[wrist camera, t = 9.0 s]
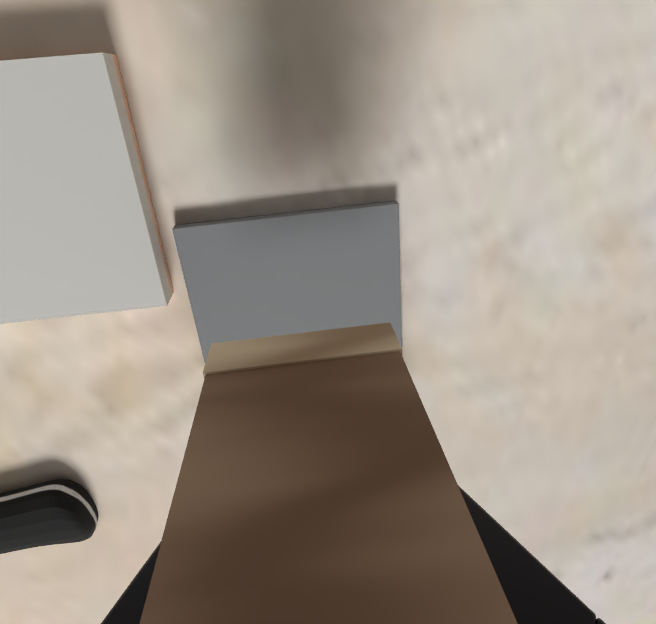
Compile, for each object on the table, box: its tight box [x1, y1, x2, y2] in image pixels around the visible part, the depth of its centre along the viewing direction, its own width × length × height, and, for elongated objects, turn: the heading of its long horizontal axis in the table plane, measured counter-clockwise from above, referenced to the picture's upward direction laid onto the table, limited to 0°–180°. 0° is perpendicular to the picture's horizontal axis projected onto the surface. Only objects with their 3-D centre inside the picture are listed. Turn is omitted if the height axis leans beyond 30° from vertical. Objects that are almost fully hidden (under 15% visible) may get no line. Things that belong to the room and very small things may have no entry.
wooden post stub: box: [140, 322, 518, 624], centre depth 8 cm, size 4×4×9 cm
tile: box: [0, 52, 174, 324], centre depth 14 cm, size 7×2×7 cm
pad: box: [172, 201, 402, 363], centre depth 16 cm, size 7×7×1 cm
